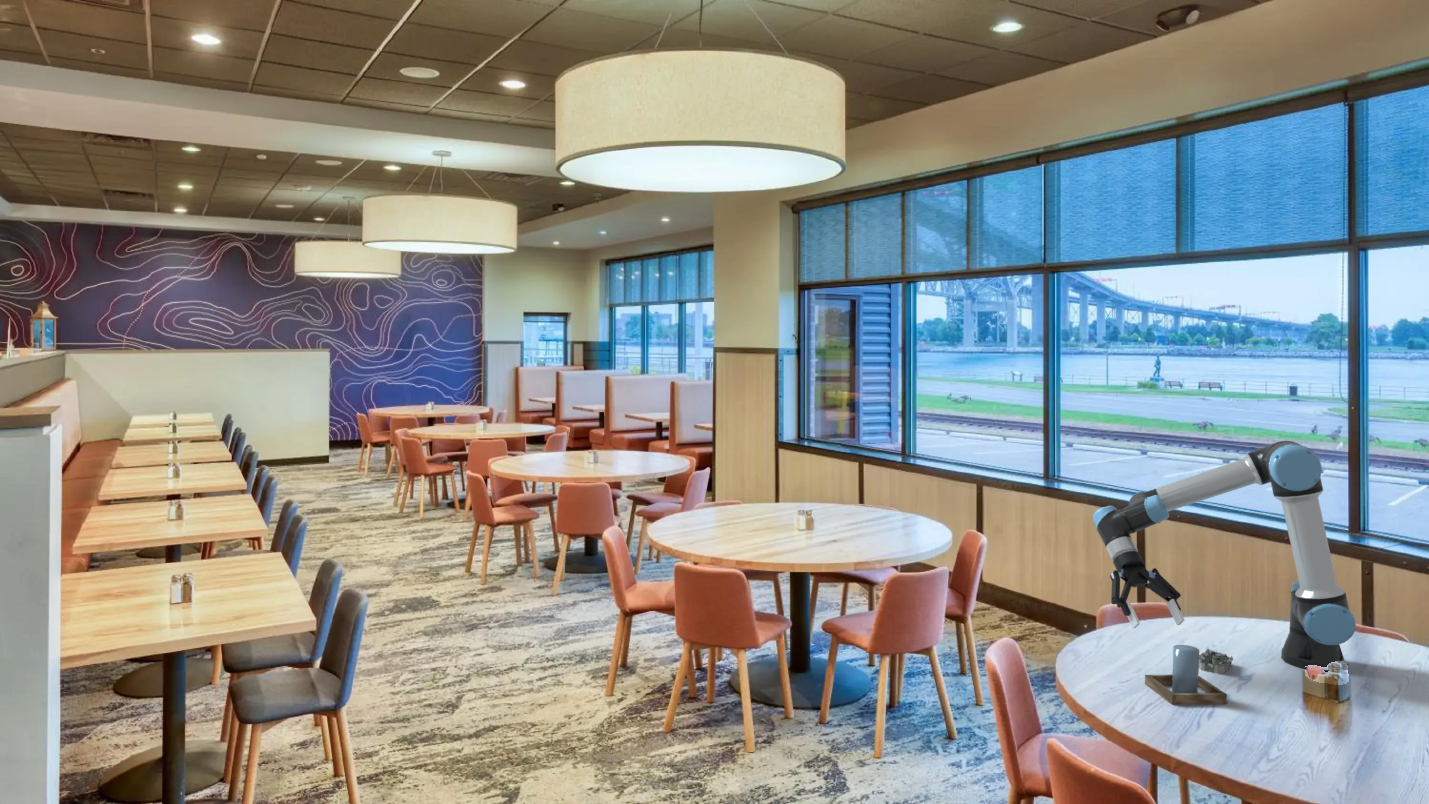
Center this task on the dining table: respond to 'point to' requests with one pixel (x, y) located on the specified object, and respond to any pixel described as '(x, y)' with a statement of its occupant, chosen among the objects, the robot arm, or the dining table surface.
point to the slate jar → (1185, 669)
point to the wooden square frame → (1210, 697)
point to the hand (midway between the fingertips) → (1158, 624)
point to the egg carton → (1214, 662)
